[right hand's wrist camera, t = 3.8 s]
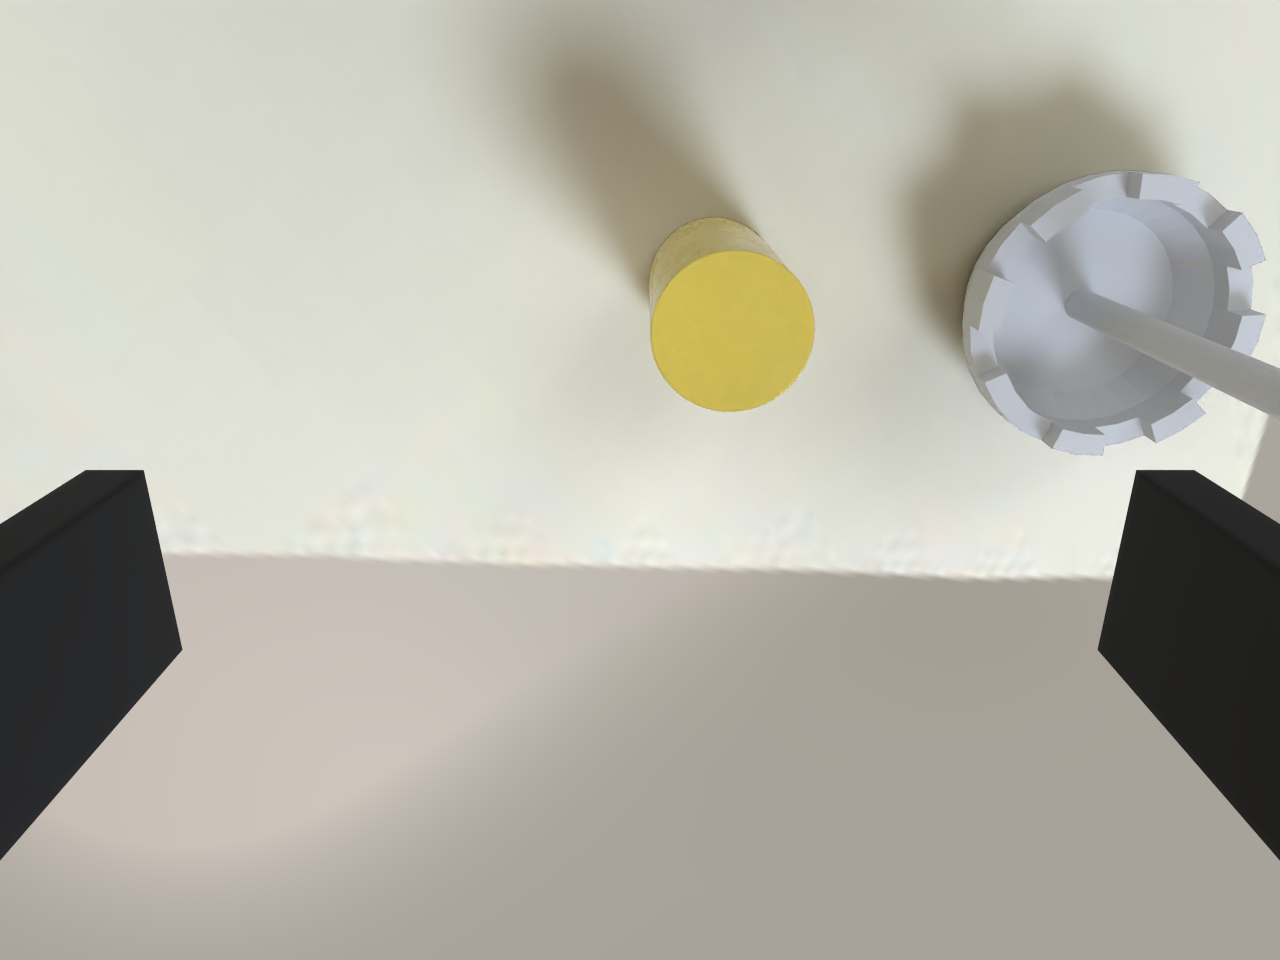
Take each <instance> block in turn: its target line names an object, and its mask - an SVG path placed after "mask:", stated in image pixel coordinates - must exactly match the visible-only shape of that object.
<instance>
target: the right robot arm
mask: <svg viewBox="0 0 1280 960" xmlns="http://www.w3.org/2000/svg"><path fill="white" fill-rule="evenodd" d="M181 651H182V646H181V641H180V637H179V632H178V627H177V623H176V618H175V614H174V609H173V604H172V600H171V595H170V590H169V586H168V581H167V576H166V572H165V567H164V562H163V558H162V553H161V548H160V544H159V539H158V535H157V530H156V525H155V521H154V516H153V511H152V507H151V502H150V497H149V493H148V488H147V484H146V479H145V474H144V470H85V471H84V472H82V473H80V474H79V475H77V476H76V477H74V478H73V479H71V480H69V481H68V482H66V483H65V484H63V485H61V486H60V487H58V488H57V489H55V490H53V491H52V492H50V493H49V494H47V495H46V496H44V497H42V498H41V499H39V500H38V501H36V502H34V503H33V504H31V505H30V506H28V507H27V508H25V509H23V510H22V511H20V512H19V513H17V514H15V515H14V516H12V517H11V518H9V519H8V520H6V521H4V522H3V523H1V524H0V860H1V859H2V858H3V857H4V855H5V854H6V853H7V852H8V851H9V850H10V848H11V847H12V846H13V845H14V844H15V843H16V841H17V840H18V839H19V838H20V837H21V836H22V835H23V833H24V832H25V831H26V830H27V829H28V828H29V826H30V825H31V824H32V823H33V822H34V821H35V820H36V818H37V817H38V816H39V815H40V814H41V813H42V811H43V810H44V809H45V808H46V807H47V806H48V804H49V803H50V802H51V801H52V800H53V799H54V798H55V796H56V795H57V794H58V793H59V792H60V791H61V789H62V788H63V787H64V786H65V785H66V784H67V783H68V781H69V780H70V779H71V778H72V777H73V776H74V774H75V773H76V772H77V771H78V770H79V769H80V767H81V766H82V765H83V764H84V763H85V762H86V761H87V759H88V758H89V757H90V756H91V755H92V754H93V752H94V751H95V750H96V749H97V748H98V747H99V746H100V744H101V743H102V742H103V741H104V740H105V739H106V737H107V736H108V735H109V734H110V733H111V732H112V730H113V729H114V728H115V727H116V726H117V725H118V724H119V722H120V721H121V720H122V719H123V718H124V717H125V715H126V714H127V713H128V712H129V711H130V710H131V708H132V707H133V706H134V705H135V704H136V703H137V702H138V700H139V699H140V698H141V697H142V696H143V695H144V693H145V692H146V691H147V690H148V689H149V688H150V687H151V685H152V684H153V683H154V682H155V681H156V680H157V678H158V677H159V676H160V675H161V674H162V673H163V671H164V670H165V669H166V668H167V667H168V666H169V665H170V663H171V662H172V661H173V660H174V659H175V658H176V656H177V655H178V654H179V653H180V652H181ZM1098 651H1099V652H1100V653H1101V654H1102V655H1103V656H1104V658H1105V659H1106V660H1107V661H1108V662H1109V663H1110V665H1111V666H1112V667H1113V668H1114V669H1115V670H1116V671H1117V673H1118V674H1119V675H1120V676H1121V677H1122V678H1123V680H1124V681H1125V682H1126V683H1127V684H1128V685H1129V686H1130V688H1131V689H1132V690H1133V691H1134V692H1135V693H1136V695H1137V696H1138V697H1139V698H1140V699H1141V700H1142V702H1143V703H1144V704H1145V705H1146V706H1147V707H1148V708H1149V710H1150V711H1151V712H1152V713H1153V714H1154V715H1155V717H1156V718H1157V719H1158V720H1159V721H1160V722H1161V723H1162V725H1163V726H1164V727H1165V728H1166V729H1167V730H1168V732H1169V733H1170V734H1171V735H1172V736H1173V737H1174V739H1175V740H1176V741H1177V742H1178V743H1179V744H1180V746H1181V747H1182V748H1183V749H1184V750H1185V751H1186V752H1187V753H1188V755H1189V756H1190V757H1191V758H1192V759H1193V761H1194V762H1195V763H1196V764H1197V765H1198V766H1199V767H1200V769H1201V770H1202V771H1203V772H1204V773H1205V774H1206V776H1207V777H1208V778H1209V779H1210V780H1211V781H1212V783H1213V784H1214V785H1215V786H1216V787H1217V788H1218V789H1219V791H1220V792H1221V793H1222V794H1223V795H1224V796H1225V797H1226V799H1227V800H1228V801H1229V802H1230V803H1231V804H1232V806H1233V807H1234V808H1235V809H1236V810H1237V811H1238V813H1239V814H1240V815H1241V816H1242V817H1243V818H1244V820H1245V821H1246V822H1247V823H1248V824H1249V825H1250V826H1251V828H1252V829H1253V830H1254V831H1255V832H1256V833H1257V834H1258V836H1259V837H1260V838H1261V839H1262V840H1263V841H1264V843H1265V844H1266V845H1267V846H1268V847H1269V848H1270V850H1271V851H1272V852H1273V853H1274V854H1275V855H1276V856H1277V858H1278V859H1279V860H1280V524H1279V523H1277V522H1276V521H1274V520H1272V519H1271V518H1269V517H1268V516H1266V515H1265V514H1263V513H1261V512H1260V511H1258V510H1257V509H1255V508H1253V507H1252V506H1250V505H1249V504H1247V503H1246V502H1244V501H1242V500H1241V499H1239V498H1238V497H1236V496H1234V495H1233V494H1231V493H1230V492H1228V491H1227V490H1225V489H1223V488H1222V487H1220V486H1219V485H1217V484H1215V483H1214V482H1212V481H1211V480H1209V479H1207V478H1206V477H1204V476H1203V475H1201V474H1200V473H1198V472H1196V471H1195V470H1136V474H1135V479H1134V484H1133V488H1132V493H1131V497H1130V502H1129V507H1128V511H1127V516H1126V521H1125V525H1124V530H1123V535H1122V539H1121V544H1120V548H1119V553H1118V558H1117V562H1116V567H1115V572H1114V576H1113V581H1112V586H1111V590H1110V595H1109V599H1108V604H1107V609H1106V613H1105V618H1104V623H1103V627H1102V632H1101V637H1100V641H1099V646H1098Z"/></svg>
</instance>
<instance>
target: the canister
mask: <svg viewBox="0 0 1280 960" xmlns="http://www.w3.org/2000/svg"><path fill="white" fill-rule="evenodd" d="M649 297H650V336H651V346H652V351H653V355H654V359H655V361H656V364H657V366H658V368H659V370H660V372H661V374H662V375H663V377H664V378H665V380H666V381H667V382H668V384H669V385H670V386H671V387H672V388H673V389H674V390H675V391H676V392H677V393H678V394H680V395H681V396H682V397H684V398H685V399H687V400H688V401H690V402H692V403H694V404H696V405H698V406H701V407H703V408H707V409H711V410H716V411H723V412H735V411H744V410H748V409H752V408H756V407H758V406H761V405H764V404H766V403H768V402H769V401H771V400H773V399H775V398H776V397H778V396H779V395H781V394H782V393H783V392H784V391H785V390H787V389H788V388H789V387H790V386H791V385H792V384H793V382H794V381H795V380H796V379H797V378H798V376H799V375H800V373H801V372H802V370H803V369H804V367H805V365H806V363H807V361H808V358H809V355H810V353H811V350H812V345H813V340H814V330H815V328H814V316H813V311H812V306H811V303H810V300H809V298H808V296H807V294H806V292H805V290H804V288H803V286H802V285H801V283H800V282H799V280H798V279H797V278H796V277H795V276H794V275H793V274H792V272H791V271H790V270H789V269H788V268H787V267H786V266H785V265H784V264H783V262H782V261H781V260H780V259H779V258H778V257H777V256H776V255H775V254H774V252H773V251H772V250H771V249H770V248H769V247H768V246H767V245H766V244H765V242H764V241H763V240H762V239H761V238H760V237H759V236H758V235H757V234H756V233H755V232H754V231H752V230H751V229H750V228H748V227H747V226H745V225H743V224H741V223H739V222H737V221H734V220H730V219H726V218H719V217H710V218H702V219H699V220H695V221H692V222H690V223H687V224H685V225H683V226H682V227H680V228H678V229H677V230H676V231H674V232H673V233H672V234H671V235H670V236H669V237H668V238H667V239H666V240H665V241H664V242H663V244H662V245H661V246H660V248H659V250H658V251H657V253H656V255H655V258H654V260H653V263H652V266H651V270H650V277H649Z"/></svg>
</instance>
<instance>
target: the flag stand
mask: <svg viewBox="0 0 1280 960" xmlns="http://www.w3.org/2000/svg"><path fill="white" fill-rule="evenodd" d="M1198 184H1199V182H1197V181H1194V180H1190V179H1186V178H1182V177H1179V176H1175V175H1170V174H1162V173H1154V172H1145V171H1122V170H1116V171H1110V172H1104V173H1097V174H1091V175H1087V176H1084V177H1082V178H1079V179H1076V180H1073V181H1070V182H1068V183H1065V184H1062V185H1060V186H1058V187H1056V188H1055V189H1053V190H1051V191H1050V192H1048V193H1046V194H1044V195H1043V196H1041V197H1039V198H1037V199H1036V200H1034V201H1033V202H1032V203H1031V204H1029V205H1028V206H1027V207H1026V208H1025V209H1023V210H1022V211H1021V212H1019V213H1018V214H1017V215H1016V216H1014V217H1013V218H1012V219H1011V220H1010V221H1009V222H1007V223H1006V224H1005V225H1004V226H1003V227H1001V229H1000V230H999V231H998V232H997V233H996V235H995V236H994V237H993V238H992V239H991V240H990V242H989V243H988V244H987V245H986V247H985V249H984V250H983V252H982V254H981V255H980V257H979V259H978V260H977V262H976V264H975V266H974V268H973V271H972V274H971V277H970V279H969V282H968V285H967V289H966V295H965V301H964V306H963V308H964V314H963V319H962V327H963V348H964V352H965V356H966V361H967V365H968V369H969V371H970V373H971V375H972V377H973V380H974V382H975V384H976V386H977V388H978V390H979V391H980V393H981V394H982V395H983V396H984V398H985V399H986V400H987V401H988V402H989V404H990V405H991V406H992V407H993V409H994V410H996V411H997V412H998V413H999V414H1000V415H1001V416H1003V417H1004V418H1005V419H1006V420H1007V421H1008V422H1010V423H1012V424H1013V425H1014V426H1016V427H1017V428H1018V429H1019V430H1021V431H1023V432H1025V433H1027V434H1029V435H1031V436H1033V437H1035V438H1038V439H1040V440H1042V441H1043V442H1045V443H1046V444H1047V445H1048V446H1049V447H1051V448H1052V449H1055V450H1059V451H1063V452H1068V453H1072V454H1076V455H1100V456H1103V451H1104V446H1106V445H1113V444H1119V443H1122V442H1125V441H1128V440H1132V439H1135V438H1138V437H1141V436H1144V435H1145V436H1146V437H1148V438H1149V439H1151V440H1152V441H1154V442H1155V443H1158V442H1160V441H1162V440H1164V439H1166V438H1168V437H1170V436H1172V435H1174V434H1176V433H1178V432H1180V431H1182V430H1183V429H1184V428H1186V427H1187V426H1189V425H1190V424H1191V423H1193V422H1194V421H1196V420H1197V419H1198V418H1200V417H1201V416H1203V415H1204V414H1205V413H1206V412H1205V411H1204V410H1203V409H1202V408H1201V407H1200V406H1199V405H1198V404H1197V403H1196V402H1197V401H1198V400H1199V399H1200V398H1201V397H1202V396H1203V395H1204V394H1205V393H1206V392H1207V391H1208V390H1209V389H1210V388H1211V387H1214V388H1216V389H1218V390H1220V391H1222V392H1224V393H1226V394H1228V395H1230V396H1232V397H1234V398H1236V399H1238V400H1240V401H1242V402H1244V403H1246V404H1248V405H1250V406H1253V407H1255V408H1257V409H1259V410H1261V411H1263V412H1265V413H1267V414H1269V415H1271V416H1273V417H1275V418H1277V419H1279V420H1280V369H1279V368H1277V367H1274V366H1272V365H1269V364H1267V363H1265V362H1262V361H1260V360H1257V359H1255V358H1252V357H1251V355H1252V353H1253V351H1254V349H1255V347H1256V345H1257V343H1258V340H1259V337H1260V333H1261V330H1262V327H1263V323H1264V320H1265V317H1266V315H1265V314H1262V313H1259V312H1256V311H1253V310H1251V300H1252V290H1253V276H1252V268H1251V266H1253V265H1255V264H1258V263H1260V262H1262V261H1265V260H1266V259H1265V256H1264V253H1263V250H1262V247H1261V244H1260V241H1259V238H1258V236H1257V234H1256V232H1255V231H1254V229H1253V228H1252V226H1251V225H1250V223H1249V221H1248V220H1247V218H1246V217H1245V215H1244V214H1243V213H1241V212H1235V211H1229V210H1227V209H1226V208H1224V207H1223V206H1222V205H1221V204H1220V203H1219V202H1218V201H1217V200H1216V199H1215V198H1214V197H1212V196H1211V195H1210V194H1209V193H1208V192H1206V191H1204V190H1202V189H1200V188H1199V187H1197V186H1198Z"/></svg>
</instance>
